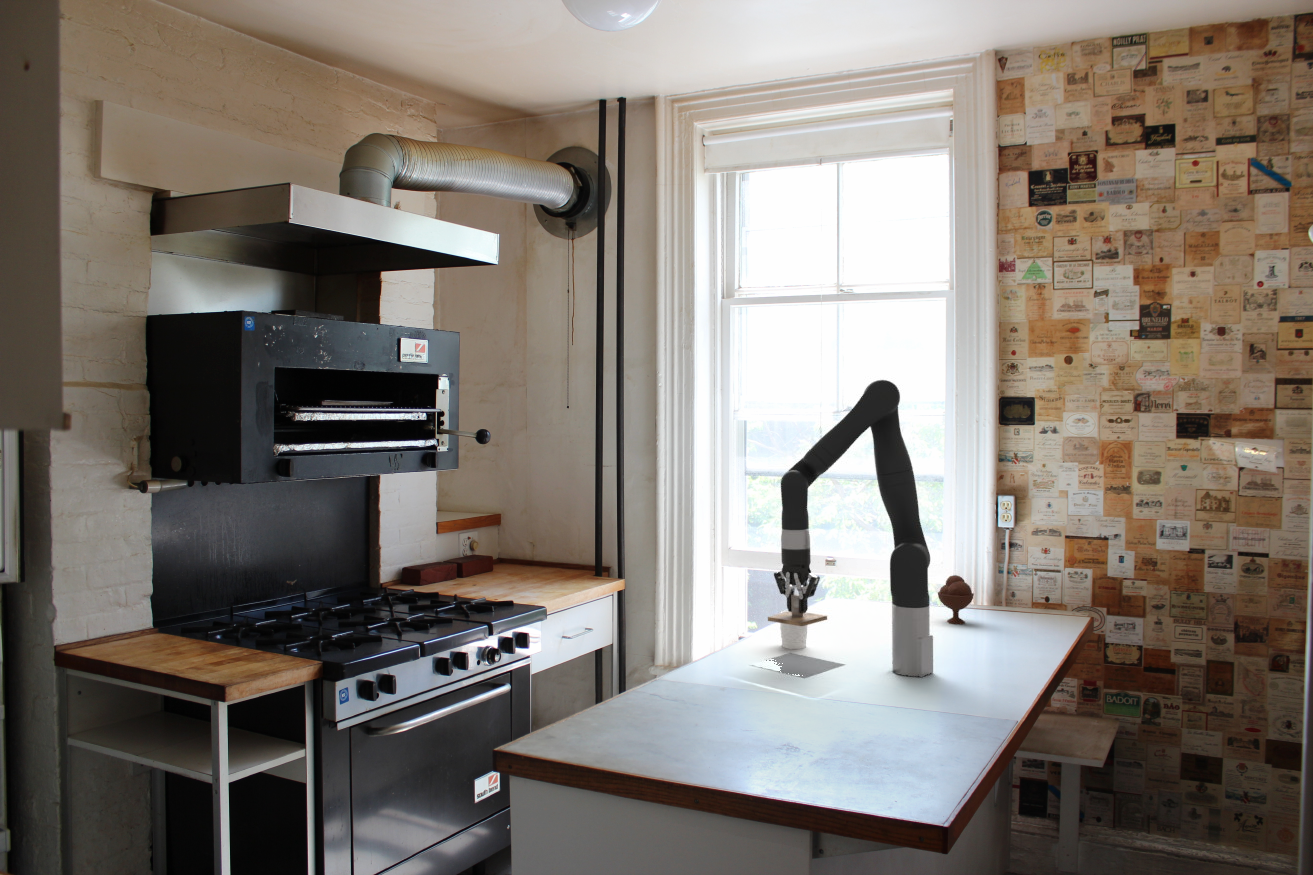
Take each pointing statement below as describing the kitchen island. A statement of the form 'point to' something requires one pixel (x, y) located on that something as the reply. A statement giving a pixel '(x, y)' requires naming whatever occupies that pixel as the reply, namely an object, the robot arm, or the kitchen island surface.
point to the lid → (797, 615)
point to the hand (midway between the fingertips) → (797, 611)
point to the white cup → (793, 635)
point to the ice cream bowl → (955, 597)
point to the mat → (803, 665)
